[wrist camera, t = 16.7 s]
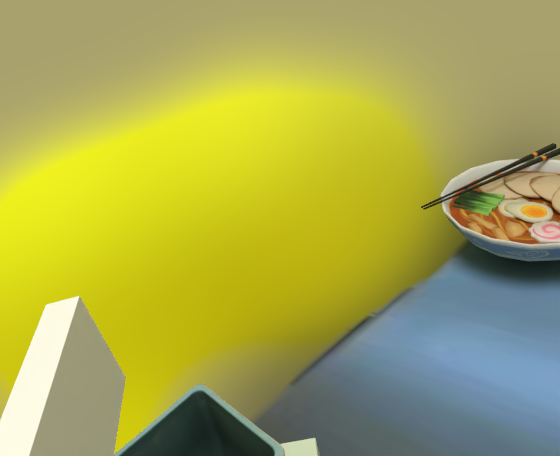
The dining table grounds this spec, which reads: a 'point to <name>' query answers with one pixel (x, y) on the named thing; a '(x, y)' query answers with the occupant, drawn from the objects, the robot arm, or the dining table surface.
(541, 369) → the dining table surface
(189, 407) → the flower pot
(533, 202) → the ramen bowl
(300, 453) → the sage block
